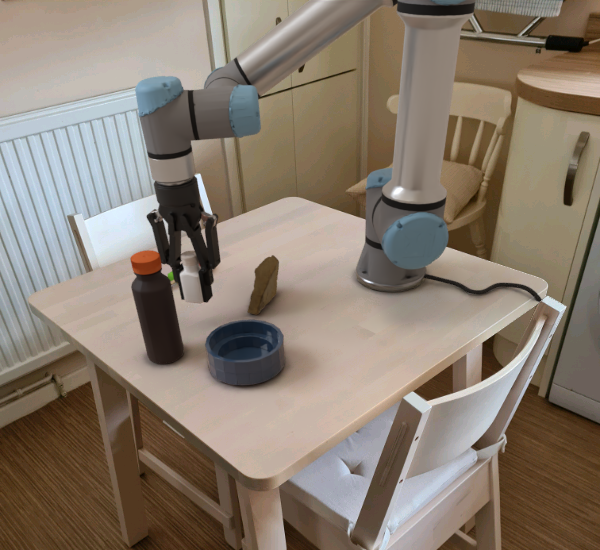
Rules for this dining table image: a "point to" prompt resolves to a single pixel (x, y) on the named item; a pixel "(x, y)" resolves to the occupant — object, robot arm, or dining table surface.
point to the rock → (264, 284)
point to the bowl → (245, 352)
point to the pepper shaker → (191, 278)
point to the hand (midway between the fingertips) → (197, 297)
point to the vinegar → (156, 308)
